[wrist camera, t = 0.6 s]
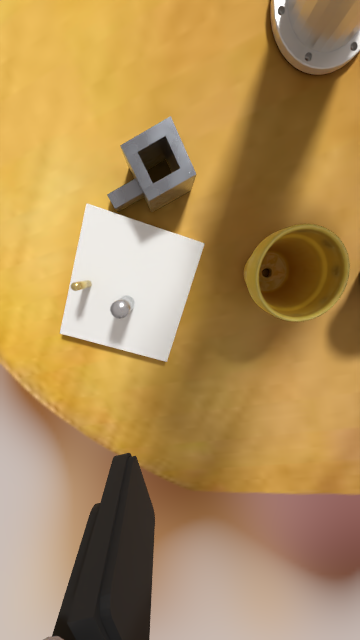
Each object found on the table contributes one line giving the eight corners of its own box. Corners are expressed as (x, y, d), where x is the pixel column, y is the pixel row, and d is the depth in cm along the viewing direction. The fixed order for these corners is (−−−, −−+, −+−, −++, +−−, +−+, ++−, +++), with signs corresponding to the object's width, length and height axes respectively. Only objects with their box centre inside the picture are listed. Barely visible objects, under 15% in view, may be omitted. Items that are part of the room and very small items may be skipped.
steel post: (120, 293, 32) (112, 298, 27) (136, 298, 32) (130, 303, 27) (117, 308, 32) (108, 315, 27) (132, 312, 32) (126, 320, 28)
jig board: (89, 205, 30) (86, 203, 29) (203, 244, 32) (204, 243, 31) (63, 331, 34) (59, 333, 32) (166, 358, 36) (166, 361, 34)
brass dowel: (85, 279, 31) (71, 281, 27) (92, 281, 31) (80, 283, 27) (83, 286, 31) (70, 289, 27) (90, 288, 31) (78, 291, 27)
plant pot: (232, 311, 34) (258, 328, 25) (227, 240, 32) (252, 229, 23) (299, 302, 35) (349, 315, 25) (298, 231, 32) (353, 216, 23)
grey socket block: (169, 144, 29) (170, 116, 24) (191, 190, 30) (196, 174, 25) (102, 183, 29) (87, 164, 24) (126, 226, 31) (117, 218, 25)
